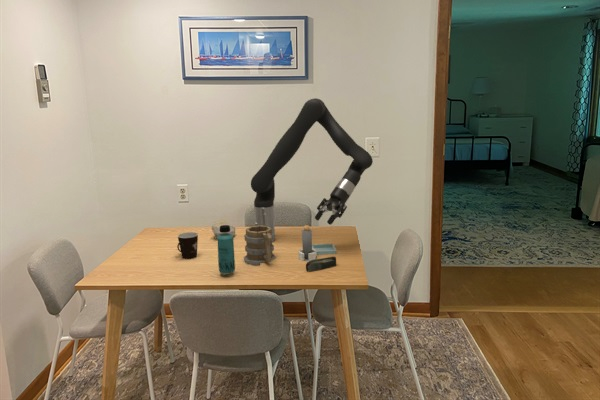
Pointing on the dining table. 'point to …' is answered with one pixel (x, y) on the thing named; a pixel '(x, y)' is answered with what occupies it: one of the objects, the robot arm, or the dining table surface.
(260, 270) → the dining table surface
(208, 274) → the dining table surface
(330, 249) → the tray
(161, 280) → the dining table surface
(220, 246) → the beverage bottle
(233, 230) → the fossil replica
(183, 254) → the coffee mug
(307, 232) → the grey tan rounded cylinder
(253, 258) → the tankard
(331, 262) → the mobile phone
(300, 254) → the round holder stand
